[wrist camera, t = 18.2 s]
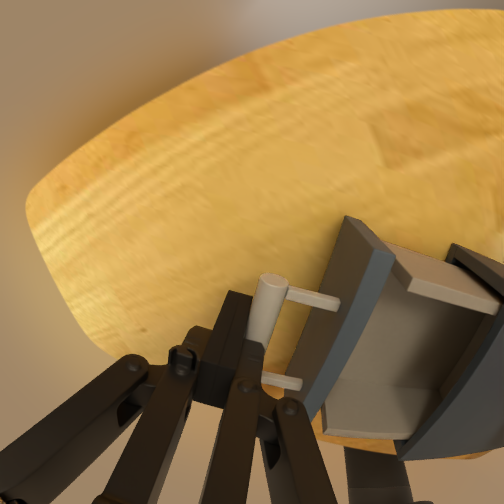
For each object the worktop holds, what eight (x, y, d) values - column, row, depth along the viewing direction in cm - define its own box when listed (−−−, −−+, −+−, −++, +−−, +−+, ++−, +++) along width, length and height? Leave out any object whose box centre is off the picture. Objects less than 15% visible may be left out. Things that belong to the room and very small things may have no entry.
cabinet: (377, 387, 24) (398, 461, 16) (452, 242, 19) (520, 291, 11) (485, 394, 24) (513, 444, 15) (548, 286, 19) (596, 325, 10)
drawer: (233, 360, 23) (216, 424, 17) (279, 196, 19) (276, 219, 12) (431, 394, 23) (453, 445, 16) (501, 272, 18) (549, 309, 12)
